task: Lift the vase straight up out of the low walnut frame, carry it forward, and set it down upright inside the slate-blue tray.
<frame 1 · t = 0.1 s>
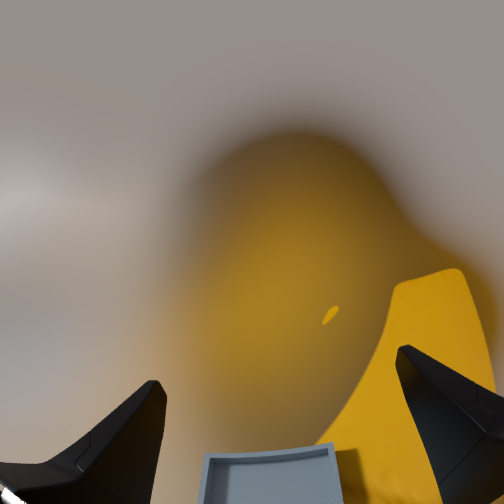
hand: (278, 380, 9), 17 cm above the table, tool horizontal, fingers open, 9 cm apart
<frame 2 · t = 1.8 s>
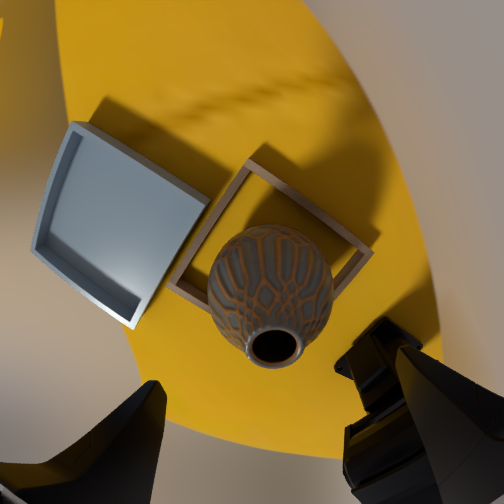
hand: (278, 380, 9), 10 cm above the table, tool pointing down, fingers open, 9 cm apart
slate tray: (109, 223, 18), on the table
walnut frame: (268, 263, 19), on the table
vase: (268, 262, 19), resting in walnut frame
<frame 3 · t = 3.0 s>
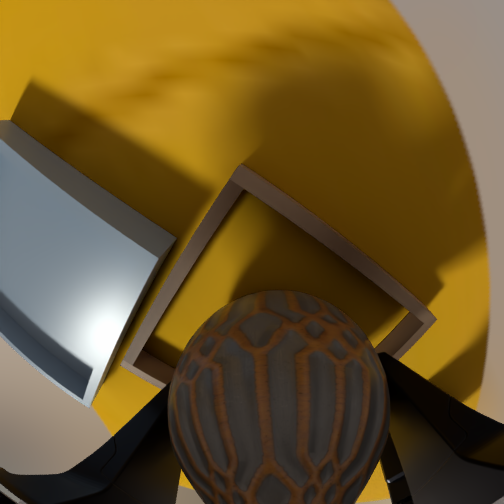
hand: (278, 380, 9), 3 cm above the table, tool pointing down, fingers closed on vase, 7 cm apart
slate tray: (41, 267, 10), on the table
walnut frame: (274, 337, 11), on the table
vase: (274, 334, 11), resting in walnut frame, touching gripper
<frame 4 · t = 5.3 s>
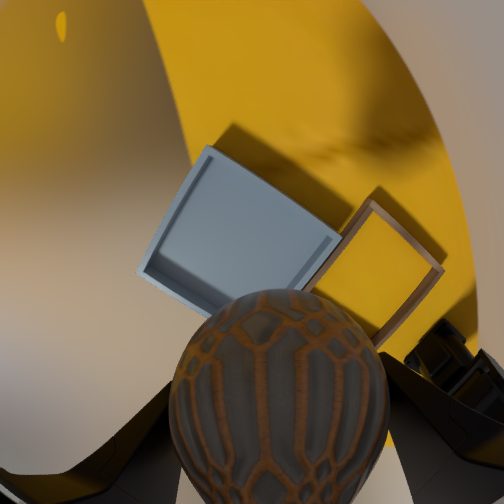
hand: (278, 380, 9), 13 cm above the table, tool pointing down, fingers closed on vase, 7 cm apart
slate tray: (234, 247, 21), on the table
walnut frame: (372, 281, 21), on the table
vase: (277, 333, 11), point 10 cm above the table, touching gripper
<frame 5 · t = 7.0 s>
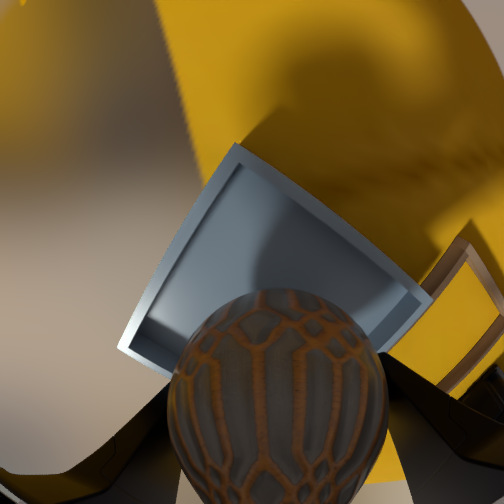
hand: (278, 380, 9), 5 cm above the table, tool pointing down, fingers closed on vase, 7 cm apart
slate tray: (270, 310, 13), on the table
walnut frame: (440, 339, 14), on the table
vase: (276, 333, 11), point 2 cm above the table, touching gripper
when the fingers open (4 cm above the table, at t = 8.0 s): vase drops 1 cm, resting on slate tray.
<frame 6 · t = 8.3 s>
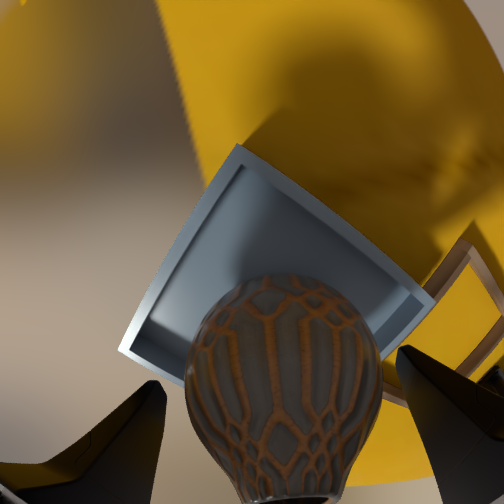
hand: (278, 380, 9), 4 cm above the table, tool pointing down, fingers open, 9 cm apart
slate tray: (272, 312, 13), on the table
walnut frame: (442, 341, 14), on the table
vase: (278, 317, 13), resting on slate tray
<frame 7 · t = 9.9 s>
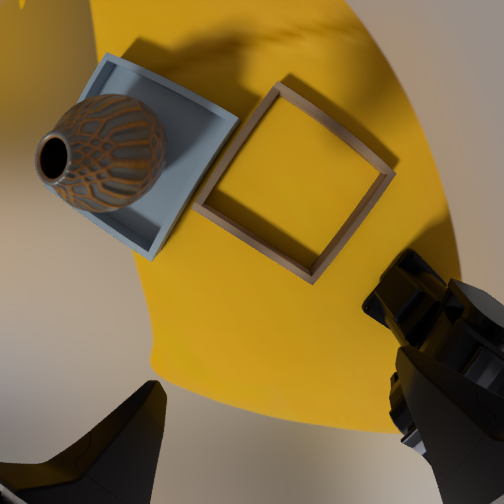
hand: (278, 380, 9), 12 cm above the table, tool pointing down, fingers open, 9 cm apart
slate tray: (133, 150, 17), on the table
walnut frame: (296, 184, 18), on the table
vase: (134, 150, 17), resting on slate tray
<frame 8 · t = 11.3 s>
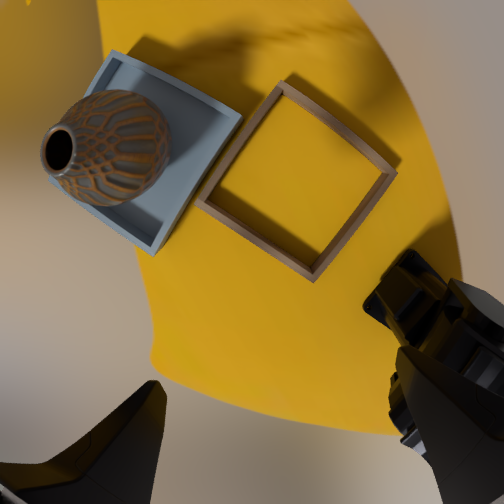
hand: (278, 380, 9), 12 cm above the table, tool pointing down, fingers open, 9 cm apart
slate tray: (137, 146, 17), on the table
walnut frame: (298, 182, 18), on the table
vase: (138, 146, 17), resting on slate tray
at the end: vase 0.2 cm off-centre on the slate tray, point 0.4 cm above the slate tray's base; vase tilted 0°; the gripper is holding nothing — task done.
